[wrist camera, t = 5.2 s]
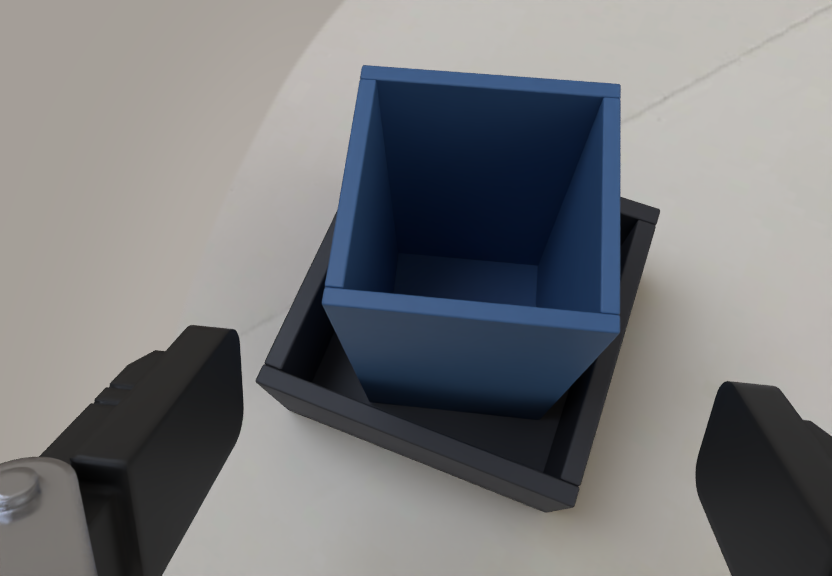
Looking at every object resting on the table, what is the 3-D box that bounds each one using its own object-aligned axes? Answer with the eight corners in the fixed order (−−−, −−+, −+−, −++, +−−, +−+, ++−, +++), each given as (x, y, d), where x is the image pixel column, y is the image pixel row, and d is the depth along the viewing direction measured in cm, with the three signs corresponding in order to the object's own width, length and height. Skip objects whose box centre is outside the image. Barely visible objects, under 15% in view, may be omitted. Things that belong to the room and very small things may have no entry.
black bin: (547, 513, 22) (574, 507, 18) (286, 409, 24) (253, 381, 19) (622, 264, 25) (661, 208, 21) (388, 186, 27) (380, 119, 22)
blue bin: (539, 420, 23) (620, 333, 13) (368, 402, 23) (320, 304, 13) (547, 261, 25) (621, 83, 15) (390, 247, 25) (361, 64, 15)
